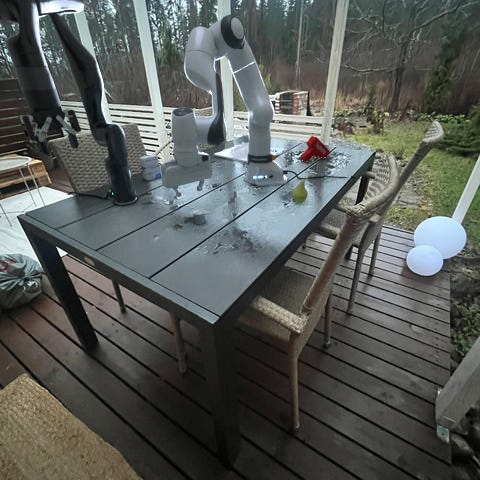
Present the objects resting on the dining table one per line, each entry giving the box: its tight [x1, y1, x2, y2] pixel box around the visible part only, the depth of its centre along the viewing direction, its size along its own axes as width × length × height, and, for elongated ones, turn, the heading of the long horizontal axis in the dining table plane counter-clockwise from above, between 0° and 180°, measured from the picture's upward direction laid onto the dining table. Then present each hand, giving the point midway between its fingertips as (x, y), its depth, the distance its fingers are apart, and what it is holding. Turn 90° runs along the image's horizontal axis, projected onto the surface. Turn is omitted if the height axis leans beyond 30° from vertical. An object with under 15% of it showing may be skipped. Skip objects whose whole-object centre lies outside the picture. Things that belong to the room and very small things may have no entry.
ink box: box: [138, 154, 162, 182], centre depth 145 cm, size 8×5×12 cm, turn 135°
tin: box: [193, 209, 206, 225], centre depth 106 cm, size 4×4×4 cm
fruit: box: [291, 174, 311, 204], centre depth 118 cm, size 7×8×12 cm
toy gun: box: [300, 135, 332, 164], centre depth 172 cm, size 18×4×15 cm
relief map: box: [213, 141, 280, 164], centre depth 184 cm, size 27×35×5 cm
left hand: (61, 151), depth 78 cm, fingers open, 8 cm apart
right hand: (189, 193), depth 106 cm, fingers open, 8 cm apart
